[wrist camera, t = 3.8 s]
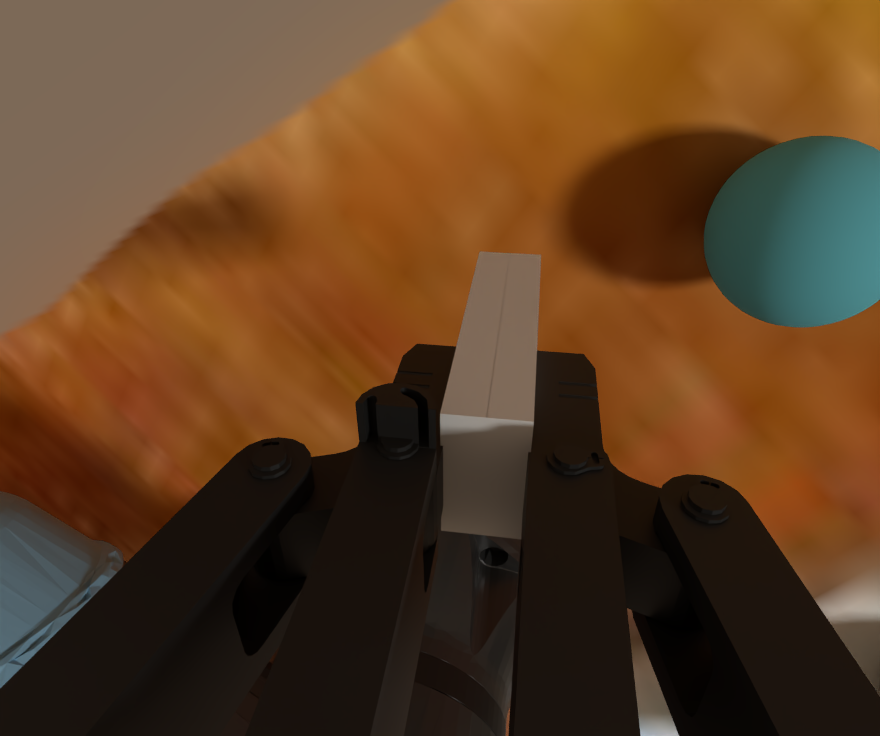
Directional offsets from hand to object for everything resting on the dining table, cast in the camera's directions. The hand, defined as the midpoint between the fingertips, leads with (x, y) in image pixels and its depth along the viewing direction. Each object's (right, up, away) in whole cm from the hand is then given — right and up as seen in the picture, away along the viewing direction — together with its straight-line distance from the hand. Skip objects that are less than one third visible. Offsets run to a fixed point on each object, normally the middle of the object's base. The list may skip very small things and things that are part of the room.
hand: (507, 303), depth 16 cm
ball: (+10, +3, +4) cm, 11 cm away
